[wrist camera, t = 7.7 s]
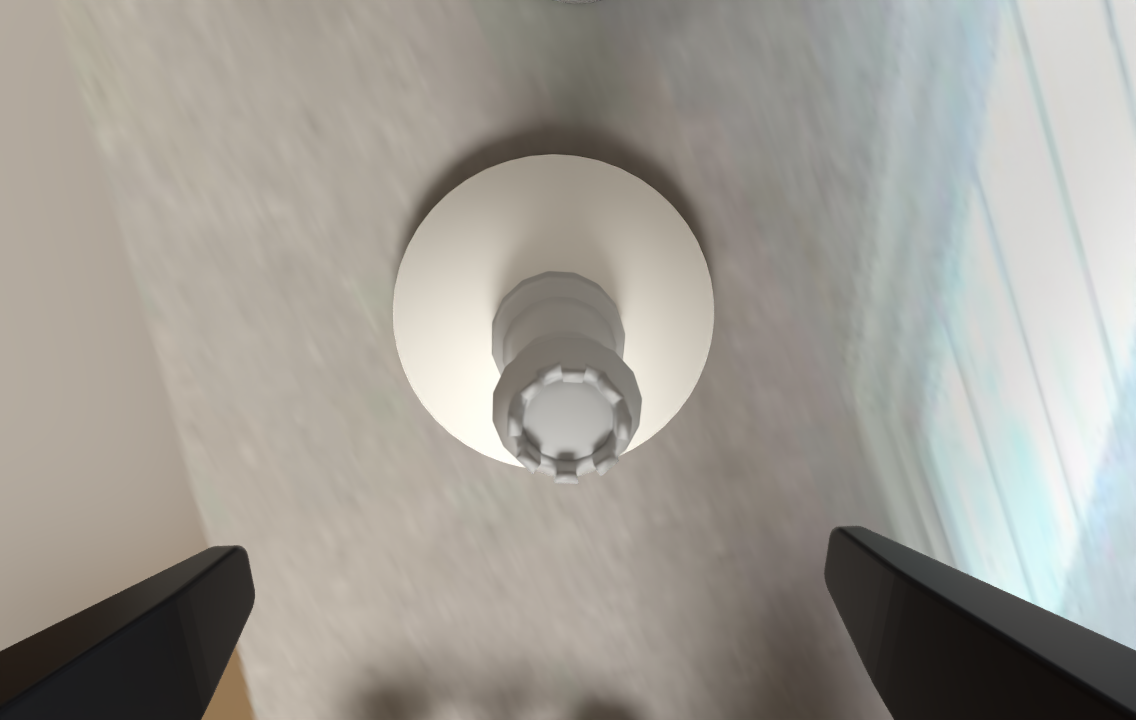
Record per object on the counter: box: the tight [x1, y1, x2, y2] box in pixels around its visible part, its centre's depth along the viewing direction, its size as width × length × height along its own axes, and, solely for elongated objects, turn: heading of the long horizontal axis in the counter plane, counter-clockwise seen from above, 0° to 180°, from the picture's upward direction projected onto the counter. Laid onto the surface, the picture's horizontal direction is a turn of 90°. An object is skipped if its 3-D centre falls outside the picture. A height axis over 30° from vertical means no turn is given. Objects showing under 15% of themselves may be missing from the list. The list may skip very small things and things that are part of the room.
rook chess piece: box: [492, 271, 642, 484], centre depth 14 cm, size 4×4×8 cm
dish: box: [393, 154, 714, 467], centre depth 19 cm, size 11×11×1 cm
